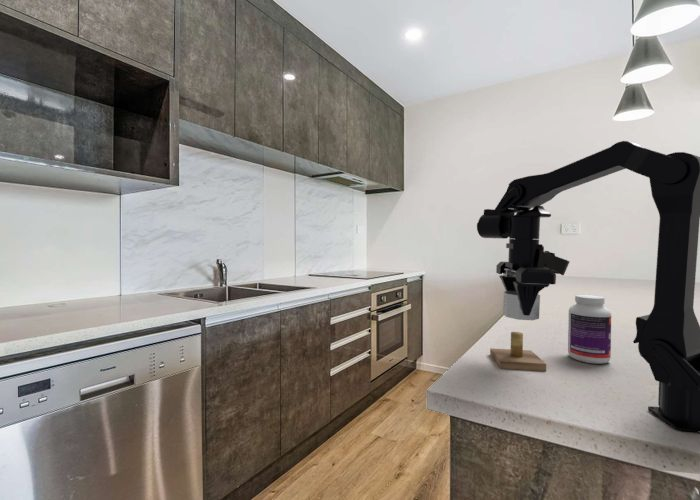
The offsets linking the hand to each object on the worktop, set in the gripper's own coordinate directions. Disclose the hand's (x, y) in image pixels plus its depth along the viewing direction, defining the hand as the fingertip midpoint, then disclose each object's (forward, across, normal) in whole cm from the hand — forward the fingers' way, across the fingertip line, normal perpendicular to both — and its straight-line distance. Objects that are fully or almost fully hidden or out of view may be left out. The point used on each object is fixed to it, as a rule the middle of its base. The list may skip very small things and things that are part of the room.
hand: (520, 311), depth 76 cm
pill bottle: (+12, +6, -17) cm, 22 cm away
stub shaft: (+12, +2, 0) cm, 12 cm away
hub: (+1, 0, 0) cm, 1 cm away
